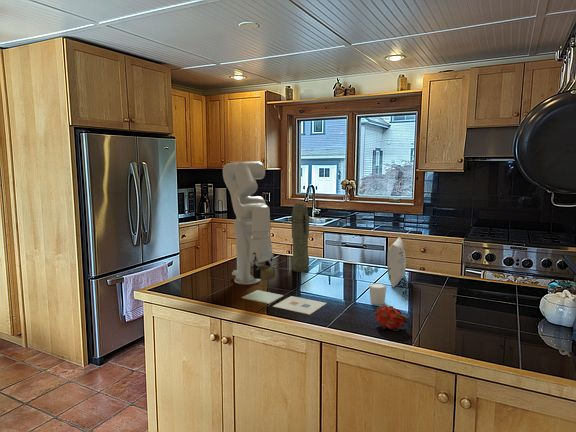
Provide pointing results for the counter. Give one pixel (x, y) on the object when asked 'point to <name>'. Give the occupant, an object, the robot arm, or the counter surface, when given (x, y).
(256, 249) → the robot arm
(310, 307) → the tile
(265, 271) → the stone block
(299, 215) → the olive stone pillar
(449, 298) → the counter surface
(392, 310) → the dragon fruit
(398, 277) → the pouch
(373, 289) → the white cylinder
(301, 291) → the counter surface
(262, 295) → the pale green pad
